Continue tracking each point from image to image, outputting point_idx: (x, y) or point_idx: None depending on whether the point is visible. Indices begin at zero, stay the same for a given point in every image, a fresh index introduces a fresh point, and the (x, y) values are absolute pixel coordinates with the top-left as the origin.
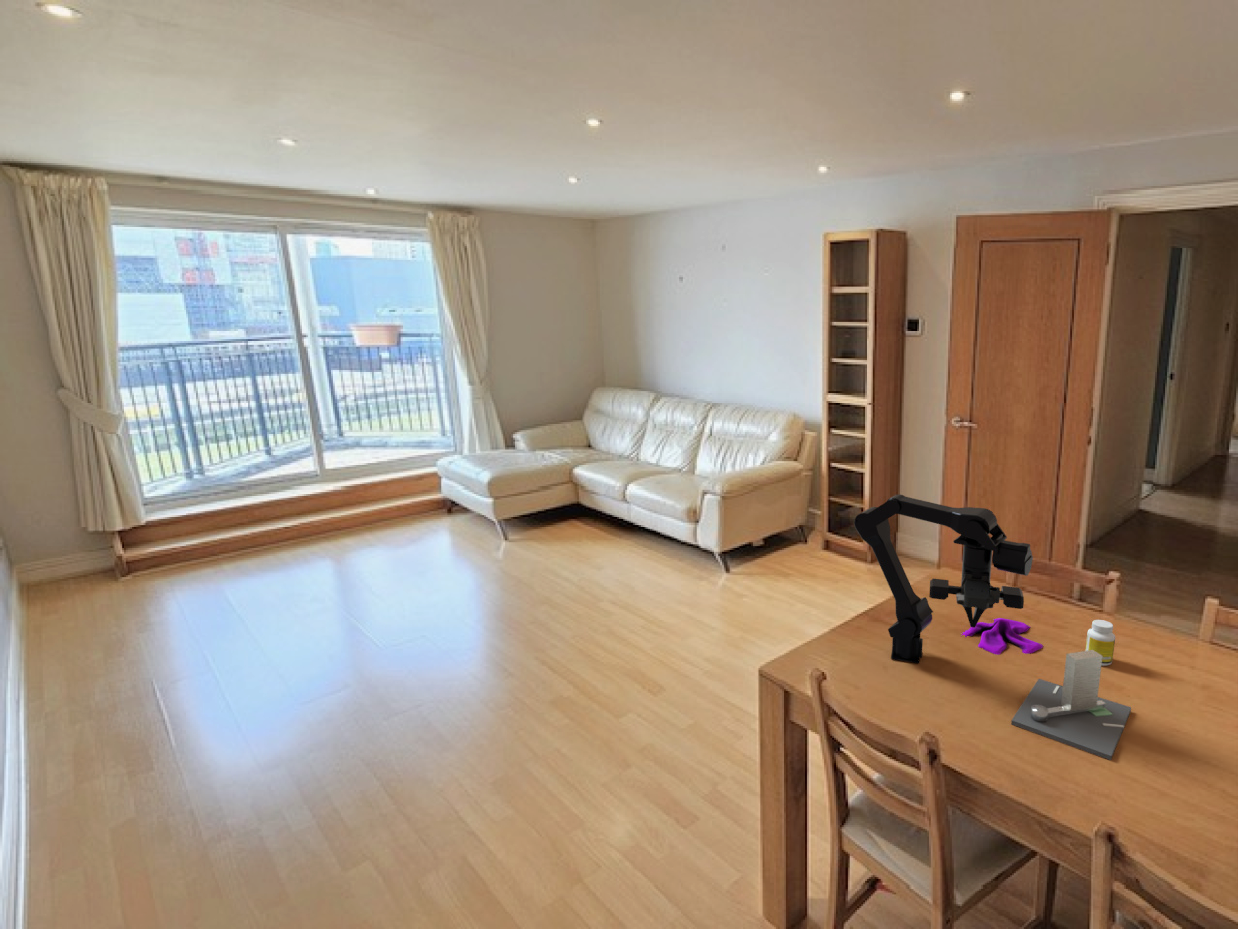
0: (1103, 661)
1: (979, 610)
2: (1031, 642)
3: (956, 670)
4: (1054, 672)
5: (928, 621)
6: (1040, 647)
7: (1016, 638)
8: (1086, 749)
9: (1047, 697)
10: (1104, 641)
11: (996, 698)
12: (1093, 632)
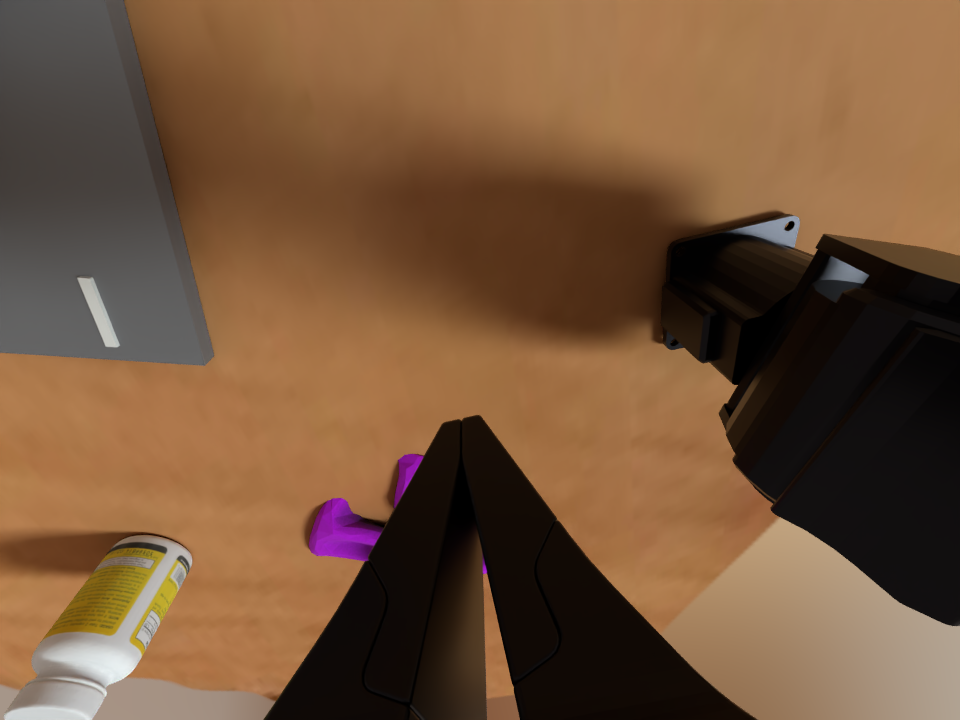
0: (112, 552)
1: (350, 713)
2: (333, 549)
3: (511, 277)
4: (210, 444)
5: (774, 418)
6: (309, 541)
7: None
8: None
9: (83, 227)
10: (54, 634)
11: (285, 110)
12: (92, 662)
